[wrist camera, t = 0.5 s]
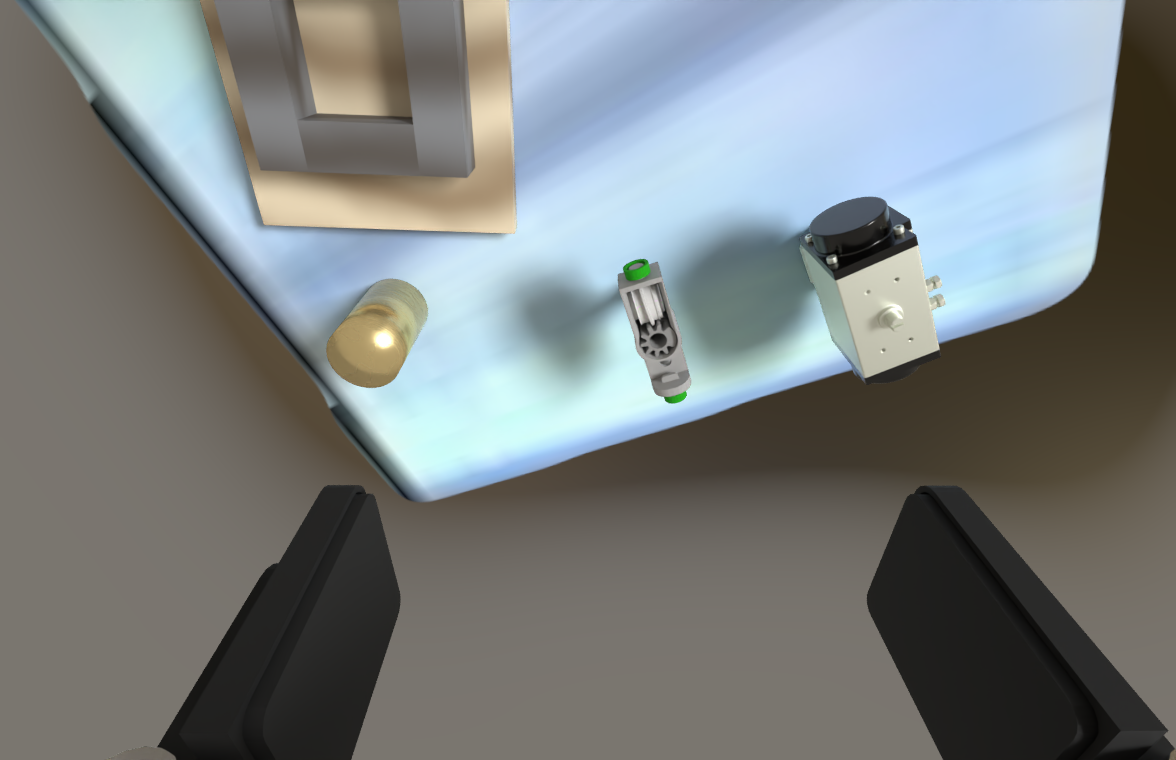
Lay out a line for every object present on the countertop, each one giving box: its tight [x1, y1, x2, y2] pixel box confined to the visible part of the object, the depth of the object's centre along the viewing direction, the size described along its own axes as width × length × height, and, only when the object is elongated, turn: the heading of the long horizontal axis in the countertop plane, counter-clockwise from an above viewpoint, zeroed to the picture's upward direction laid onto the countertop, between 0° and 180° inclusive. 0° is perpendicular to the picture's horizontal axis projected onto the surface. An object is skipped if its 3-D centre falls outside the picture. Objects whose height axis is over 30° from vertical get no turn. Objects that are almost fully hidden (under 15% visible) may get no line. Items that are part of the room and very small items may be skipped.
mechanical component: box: [618, 259, 691, 403], centre depth 40 cm, size 3×10×10 cm, turn 19°
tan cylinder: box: [326, 279, 428, 388], centre depth 42 cm, size 5×5×8 cm
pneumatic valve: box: [799, 197, 945, 385], centre depth 37 cm, size 6×12×12 cm, turn 28°
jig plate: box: [200, 0, 517, 234], centre depth 33 cm, size 22×18×4 cm
